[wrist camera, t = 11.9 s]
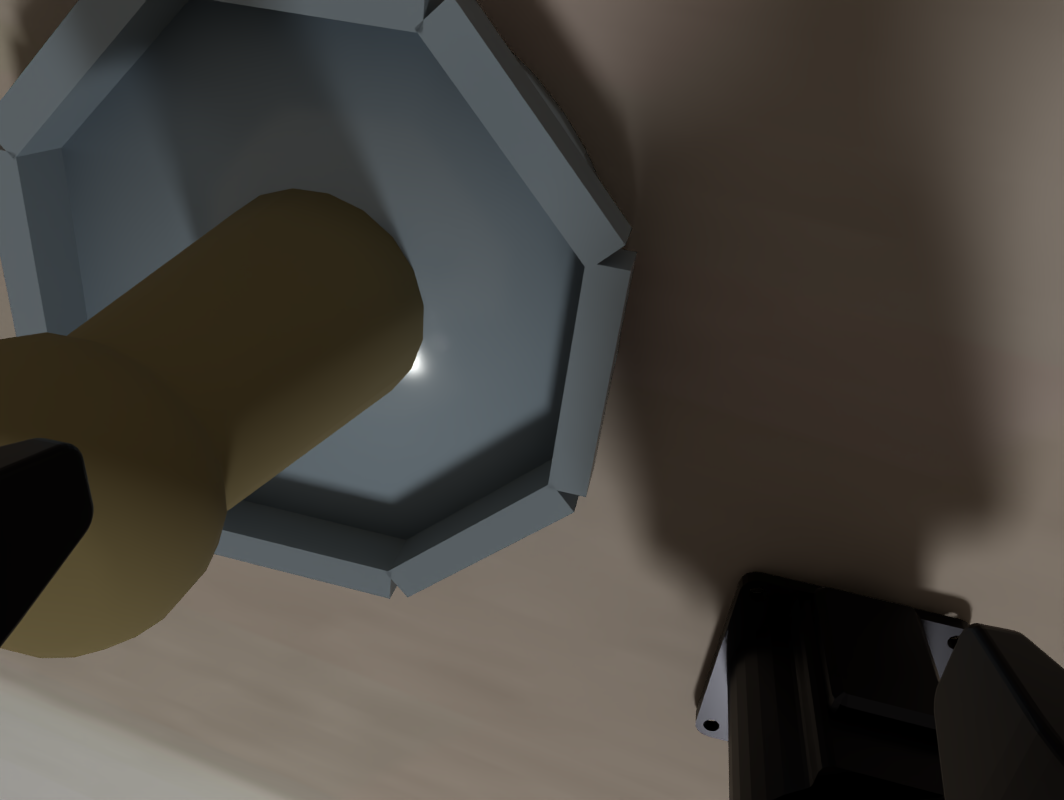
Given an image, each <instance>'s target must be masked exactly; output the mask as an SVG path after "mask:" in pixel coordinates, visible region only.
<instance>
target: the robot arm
mask: <svg viewBox="0 0 1064 800" xmlns="http://www.w3.org/2000/svg"><path fill="white" fill-rule="evenodd" d="M93 513H94V506H93V501H92V496H91V491H90V486H89V482H88V477H87V472H86V468H85V463H84V458H83V455H82V453H81V452H80V450H79V449H78V448H77V447H76V446H74V445H73V444H70V443H66V442H61V441H56V440H51V439H46V438H33V439H28V440H24V441H20V442H16V443H12V444H8V445H4V446H0V647H1V646H2V645H3V644H4V642H5V641H6V640H7V638H8V637H9V636H10V635H11V633H12V632H13V631H14V629H15V628H16V627H17V625H18V624H19V623H20V621H21V620H22V619H23V617H24V616H25V615H26V613H27V612H28V611H29V609H30V608H31V607H32V605H33V604H34V602H35V601H36V600H37V598H38V597H39V596H40V594H41V593H42V592H43V590H44V589H45V588H46V586H47V585H48V584H49V582H50V581H51V579H52V578H53V577H54V575H55V574H56V573H57V571H58V570H59V569H60V567H61V566H62V565H63V563H64V562H65V561H66V559H67V558H68V556H69V555H70V554H71V552H72V551H73V550H74V548H75V547H76V546H77V544H78V543H79V542H80V540H81V539H82V538H83V536H84V535H85V533H86V532H87V530H88V529H89V527H90V524H91V522H92V519H93ZM753 588H761V589H763V590H764V591H762V592H760V593H754V592H752V591H750V590H751V589H753ZM953 636H959V638H958V639H955V640H954V639H949V638H950V637H953ZM709 720H715V721H709ZM696 727H697V729H698V731H700V732H701V733H702V734H704V735H707V736H710V737H713V738H717V739H721V740H725V741H728V747H729V800H1064V669H1063V668H1062V667H1061V666H1060V665H1059V664H1057V663H1056V662H1055V661H1054V660H1053V659H1052V658H1050V657H1049V656H1048V655H1047V654H1046V653H1044V652H1043V651H1042V650H1041V649H1040V648H1039V647H1037V646H1036V645H1035V644H1034V643H1033V642H1032V641H1030V640H1029V639H1028V638H1027V637H1025V636H1024V635H1023V634H1021V633H1019V632H1017V631H1014V630H1009V629H1004V628H999V627H994V626H989V625H984V624H979V623H974V624H971V625H970V624H968V623H967V622H966V621H963V620H961V619H957V618H952V617H948V616H944V615H940V614H935V613H931V612H927V611H923V610H918V609H914V608H912V607H909V606H905V605H900V604H896V603H892V602H888V601H883V600H879V599H875V598H871V597H866V596H862V595H858V594H854V593H849V592H845V591H841V590H837V589H832V588H828V587H821V586H817V585H812V584H808V583H804V582H800V581H795V580H791V579H787V578H783V577H778V576H774V575H770V574H766V573H761V572H752V573H748V574H746V575H744V576H743V577H742V578H741V580H740V581H739V584H738V587H737V590H736V593H735V596H734V599H733V602H732V605H731V608H730V611H729V614H728V617H727V620H726V623H725V626H724V629H723V632H722V635H721V638H720V641H719V644H718V647H717V650H716V653H715V656H714V659H713V662H712V665H711V668H710V671H709V674H708V677H707V680H706V683H705V686H704V689H703V692H702V695H701V698H700V701H699V704H698V707H697V710H696Z"/></svg>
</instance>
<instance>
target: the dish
mask: <svg viewBox="0 0 1064 800" xmlns="http://www.w3.org/2000/svg"><path fill="white" fill-rule="evenodd" d="M291 188H294V189H301V190H308V191H315V192H322V193H329V194H331V195H333V196H335V197H337V198H339V199H341V200H343V201H345V202H347V203H349V204H351V205H353V206H355V207H357V208H359V209H362V210H363V211H365V212H366V213H367V214H368V215H369V216H370V217H371V218H372V219H373V220H374V221H376V222H377V223H378V224H379V225H380V226H381V227H382V228H383V229H384V230H386V231H387V232H388V233H389V234H390V235H391V236H392V237H393V238H394V240H395V241H396V243H397V245H398V246H399V248H400V249H401V251H402V253H403V254H404V256H405V257H406V259H407V260H408V262H409V264H410V265H411V267H412V268H413V270H414V273H415V277H416V280H417V284H418V287H419V291H420V294H421V297H422V301H423V304H424V318H423V341H422V343H421V346H420V348H419V351H418V354H417V356H416V359H415V361H414V364H413V367H412V369H411V370H410V371H409V372H408V373H407V374H406V375H405V377H404V378H403V379H402V380H401V381H400V382H399V383H398V384H397V385H396V386H395V388H394V389H393V390H392V391H390V392H389V393H388V394H386V395H385V396H384V397H382V398H381V399H380V400H378V401H377V402H375V403H374V404H373V405H371V406H370V407H369V408H367V409H366V410H365V411H363V412H362V413H360V414H359V415H358V416H356V417H355V418H354V419H352V420H351V421H350V422H348V423H347V424H345V425H344V426H343V427H341V428H340V429H339V430H337V431H336V432H335V433H333V434H332V435H330V436H329V437H328V438H326V439H325V440H324V441H322V442H321V443H320V444H318V445H317V446H315V447H314V448H313V449H311V450H310V451H309V452H307V453H306V454H305V455H303V456H302V457H300V458H299V459H298V460H296V461H295V462H294V463H292V464H291V465H290V466H288V467H287V468H285V469H284V470H283V471H281V472H280V473H279V474H277V475H276V476H275V477H273V478H272V479H270V480H269V481H268V482H266V483H265V484H264V485H262V486H261V487H260V488H258V489H257V490H255V491H254V492H253V493H251V494H250V495H249V496H247V497H246V498H245V499H243V500H242V501H240V502H239V503H238V504H236V505H235V506H234V507H232V508H231V509H230V510H228V511H227V514H226V518H225V522H224V526H223V529H222V533H221V537H220V540H219V544H218V546H217V548H216V550H215V552H214V554H216V555H220V556H224V557H228V558H232V559H236V560H240V561H244V562H248V563H252V564H256V565H260V566H264V567H267V568H271V569H275V570H279V571H283V572H287V573H291V574H295V575H299V576H303V577H307V578H311V579H315V580H319V581H323V582H326V583H330V584H334V585H338V586H342V587H346V588H350V589H354V590H358V591H362V592H366V593H370V594H374V595H378V596H381V597H385V598H389V599H390V597H391V595H392V594H393V592H394V590H395V588H396V586H398V587H399V588H400V589H401V590H402V592H403V593H404V594H405V595H406V596H407V597H409V596H411V595H413V594H415V593H417V592H419V591H421V590H423V589H425V588H427V587H429V586H431V585H433V584H435V583H437V582H439V581H440V580H442V579H444V578H446V577H448V576H450V575H452V574H454V573H456V572H458V571H460V570H462V569H464V568H466V567H468V566H470V565H472V564H474V563H476V562H478V561H480V560H482V559H483V558H485V557H487V556H489V555H491V554H493V553H495V552H497V551H499V550H501V549H503V548H505V547H507V546H509V545H511V544H513V543H515V542H517V541H519V540H521V539H523V538H525V537H526V536H528V535H530V534H532V533H534V532H536V531H538V530H540V529H542V528H544V527H546V526H548V525H550V524H552V523H554V522H556V521H558V520H560V519H562V518H564V517H566V516H568V515H569V514H571V513H573V512H574V511H575V507H576V504H577V500H578V496H583V497H586V495H587V491H588V487H589V484H590V480H591V476H592V472H593V469H594V464H595V459H596V454H597V449H598V444H599V439H600V434H601V429H602V424H603V419H604V414H605V409H606V404H607V399H608V394H609V389H610V384H611V379H612V374H613V369H614V365H615V362H616V358H617V354H618V350H619V342H620V334H621V329H622V324H623V319H624V314H625V309H626V304H627V299H628V294H629V289H630V284H631V279H632V274H633V269H634V264H635V259H636V254H637V252H634V251H628V250H623V249H620V248H622V247H623V246H625V245H626V242H627V239H628V237H629V234H630V232H631V229H632V227H631V226H630V225H629V223H628V222H627V220H626V219H625V217H624V216H623V214H622V213H621V211H620V210H619V208H618V207H617V206H616V204H615V203H614V201H613V200H612V198H611V197H610V195H609V194H608V192H607V191H606V190H605V188H604V187H603V185H602V184H601V182H600V181H599V178H598V176H597V174H596V171H595V169H594V167H593V164H592V162H591V160H590V158H589V155H588V153H587V151H586V149H585V147H584V146H583V144H582V142H581V141H580V139H579V137H578V136H577V134H576V132H575V131H574V129H573V127H572V125H571V124H570V122H569V120H568V119H567V117H566V115H565V114H564V112H563V111H562V109H561V108H560V107H559V105H558V104H557V103H556V102H555V100H554V99H553V98H552V96H551V95H550V94H549V93H548V91H547V90H546V89H545V88H544V86H543V85H542V84H541V82H540V81H539V80H538V79H537V77H536V76H535V75H534V74H533V73H532V72H531V71H530V70H529V69H528V68H527V67H526V66H525V65H524V64H523V63H522V62H521V61H520V60H519V59H518V58H517V57H516V56H515V55H514V54H513V53H512V52H511V51H510V50H509V48H508V47H507V45H506V44H505V42H504V41H503V40H502V38H501V37H500V35H499V34H498V32H497V31H496V29H495V28H494V26H493V25H492V23H491V22H490V21H489V19H488V18H487V16H486V15H485V13H484V12H483V10H482V9H481V7H480V6H479V5H478V3H477V2H476V0H78V2H77V3H76V4H75V6H74V7H73V8H72V9H71V11H70V12H69V13H68V15H67V16H66V17H65V18H64V20H63V21H62V22H61V24H60V25H59V26H58V27H57V29H56V30H55V31H54V33H53V34H52V35H51V36H50V38H49V39H48V40H47V42H46V43H45V44H44V45H43V47H42V48H41V49H40V50H39V52H38V53H37V54H36V56H35V57H34V58H33V59H32V61H31V62H30V63H29V65H28V66H27V67H26V68H25V70H24V71H23V72H22V74H21V75H20V76H19V77H18V79H17V80H16V81H15V83H14V84H13V85H12V86H11V88H10V89H9V90H8V92H7V93H6V94H5V95H4V97H3V98H2V99H1V101H0V257H1V262H2V267H3V272H4V277H5V282H6V287H7V292H8V297H9V302H10V307H11V312H12V317H13V322H14V327H15V332H16V337H19V336H25V335H32V334H38V333H45V332H48V333H54V334H59V335H65V336H67V335H68V334H70V333H71V332H72V331H74V330H75V329H77V328H78V327H79V326H81V325H82V324H83V323H85V322H86V321H87V320H89V319H90V318H92V317H93V316H94V315H96V314H97V313H98V312H100V311H101V310H102V309H104V308H105V307H107V306H108V305H109V304H111V303H112V302H113V301H115V300H116V299H117V298H119V297H120V296H121V295H123V294H124V293H126V292H127V291H128V290H130V289H131V288H132V287H134V286H135V285H136V284H138V283H139V282H141V281H142V280H143V279H145V278H146V277H147V276H149V275H150V274H151V273H153V272H154V271H156V270H157V269H158V268H160V267H161V266H162V265H164V264H165V263H166V262H168V261H169V260H171V259H172V258H173V257H175V256H176V255H177V254H179V253H180V252H181V251H183V250H184V249H185V248H187V247H188V246H190V245H191V244H192V243H194V242H195V241H196V240H198V239H199V238H200V237H202V236H203V235H205V234H206V233H207V232H209V231H210V230H211V229H213V228H214V227H215V226H217V225H218V224H220V223H221V222H222V221H224V220H225V219H226V218H228V217H229V216H230V215H232V214H233V213H235V212H236V211H237V210H239V209H240V208H242V207H243V206H245V205H246V204H248V203H249V202H251V201H252V200H254V199H255V198H257V197H258V196H259V195H263V194H268V193H273V192H277V191H282V190H287V189H291Z"/></svg>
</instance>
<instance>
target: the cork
mask: <svg viewBox="0 0 1064 800" xmlns="http://www.w3.org/2000/svg"><path fill="white" fill-rule="evenodd" d="M423 318H424V304H423V301H422V297H421V294H420V291H419V287H418V284H417V280H416V277H415V273H414V270H413V268H412V267H411V265H410V264H409V262H408V260H407V259H406V257H405V256H404V254H403V253H402V251H401V249H400V248H399V246H398V245H397V243H396V241H395V240H394V238H393V237H392V236H391V235H390V234H389V233H388V232H387V231H386V230H384V229H383V228H382V227H381V226H380V225H379V224H378V223H377V222H376V221H374V220H373V219H372V218H371V217H370V216H369V215H368V214H367V213H366V212H365V211H363V210H362V209H359V208H357V207H355V206H353V205H351V204H349V203H347V202H345V201H343V200H341V199H339V198H337V197H335V196H333V195H331V194H329V193H322V192H315V191H308V190H301V189H294V188H291V189H287V190H282V191H277V192H273V193H268V194H263V195H259V196H258V197H257V198H255V199H254V200H252V201H251V202H249V203H248V204H246V205H245V206H243V207H242V208H240V209H239V210H237V211H236V212H235V213H233V214H232V215H230V216H229V217H228V218H226V219H225V220H224V221H222V222H221V223H220V224H218V225H217V226H215V227H214V228H213V229H211V230H210V231H209V232H207V233H206V234H205V235H203V236H202V237H200V238H199V239H198V240H196V241H195V242H194V243H192V244H191V245H190V246H188V247H187V248H185V249H184V250H183V251H181V252H180V253H179V254H177V255H176V256H175V257H173V258H172V259H171V260H169V261H168V262H166V263H165V264H164V265H162V266H161V267H160V268H158V269H157V270H156V271H154V272H153V273H151V274H150V275H149V276H147V277H146V278H145V279H143V280H142V281H141V282H139V283H138V284H136V285H135V286H134V287H132V288H131V289H130V290H128V291H127V292H126V293H124V294H123V295H121V296H120V297H119V298H117V299H116V300H115V301H113V302H112V303H111V304H109V305H108V306H107V307H105V308H104V309H102V310H101V311H100V312H98V313H97V314H96V315H94V316H93V317H92V318H90V319H89V320H87V321H86V322H85V323H83V324H82V325H81V326H79V327H78V328H77V329H75V330H74V331H72V332H71V333H70V334H68V335H67V336H65V335H59V334H54V333H48V332H45V333H38V334H32V335H25V336H19V337H12V338H6V339H0V446H4V445H8V444H12V443H16V442H20V441H24V440H28V439H33V438H46V439H51V440H56V441H61V442H66V443H70V444H73V445H74V446H76V447H77V448H78V449H79V450H80V452H81V453H82V455H83V458H84V463H85V468H86V472H87V477H88V482H89V486H90V491H91V496H92V501H93V506H94V513H93V519H92V522H91V524H90V527H89V529H88V530H87V532H86V533H85V535H84V536H83V538H82V539H81V540H80V542H79V543H78V544H77V546H76V547H75V548H74V550H73V551H72V552H71V554H70V555H69V556H68V558H67V559H66V561H65V562H64V563H63V565H62V566H61V567H60V569H59V570H58V571H57V573H56V574H55V575H54V577H53V578H52V579H51V581H50V582H49V584H48V585H47V586H46V588H45V589H44V590H43V592H42V593H41V594H40V596H39V597H38V598H37V600H36V601H35V602H34V604H33V605H32V607H31V608H30V609H29V611H28V612H27V613H26V615H25V616H24V617H23V619H22V620H21V621H20V623H19V624H18V625H17V627H16V628H15V629H14V631H13V632H12V633H11V635H10V636H9V637H8V638H7V640H6V641H5V642H4V644H3V645H2V646H1V647H0V648H2V649H6V650H10V651H14V652H18V653H22V654H26V655H30V656H34V657H38V658H66V657H78V656H81V655H85V654H89V653H93V652H96V651H100V650H104V649H107V648H109V647H112V646H114V645H117V644H119V643H122V642H124V641H126V640H129V639H131V638H134V637H136V636H138V635H139V634H141V633H142V632H144V631H145V630H147V629H149V628H150V627H152V626H153V625H155V624H156V623H158V622H159V621H161V620H162V619H164V618H165V617H166V615H167V614H168V613H169V612H170V611H171V610H172V609H173V607H174V606H175V605H176V604H177V603H178V602H179V601H180V600H181V598H182V597H183V596H184V595H185V594H186V593H187V592H188V590H189V589H190V588H191V587H192V586H193V585H194V584H195V582H196V581H197V580H198V579H199V578H200V577H201V576H202V575H203V573H204V572H205V571H206V569H207V567H208V565H209V563H210V561H211V559H212V557H213V555H214V552H215V550H216V548H217V546H218V544H219V540H220V537H221V533H222V529H223V526H224V522H225V518H226V514H227V511H228V510H230V509H231V508H232V507H234V506H235V505H236V504H238V503H239V502H240V501H242V500H243V499H245V498H246V497H247V496H249V495H250V494H251V493H253V492H254V491H255V490H257V489H258V488H260V487H261V486H262V485H264V484H265V483H266V482H268V481H269V480H270V479H272V478H273V477H275V476H276V475H277V474H279V473H280V472H281V471H283V470H284V469H285V468H287V467H288V466H290V465H291V464H292V463H294V462H295V461H296V460H298V459H299V458H300V457H302V456H303V455H305V454H306V453H307V452H309V451H310V450H311V449H313V448H314V447H315V446H317V445H318V444H320V443H321V442H322V441H324V440H325V439H326V438H328V437H329V436H330V435H332V434H333V433H335V432H336V431H337V430H339V429H340V428H341V427H343V426H344V425H345V424H347V423H348V422H350V421H351V420H352V419H354V418H355V417H356V416H358V415H359V414H360V413H362V412H363V411H365V410H366V409H367V408H369V407H370V406H371V405H373V404H374V403H375V402H377V401H378V400H380V399H381V398H382V397H384V396H385V395H386V394H388V393H389V392H390V391H392V390H393V389H394V388H395V386H396V385H397V384H398V383H399V382H400V381H401V380H402V379H403V378H404V377H405V375H406V374H407V373H408V372H409V371H410V370H411V369H412V367H413V364H414V361H415V359H416V356H417V354H418V351H419V348H420V346H421V343H422V341H423Z"/></svg>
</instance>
